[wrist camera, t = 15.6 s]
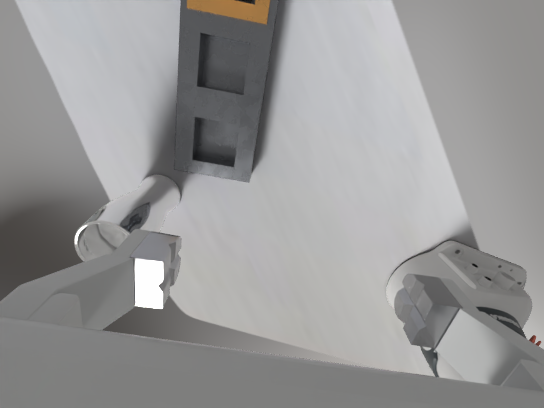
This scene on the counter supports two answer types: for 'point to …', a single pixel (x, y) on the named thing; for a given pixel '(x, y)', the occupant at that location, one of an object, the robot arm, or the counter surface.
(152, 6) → the counter surface
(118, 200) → the beer glass
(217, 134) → the socket rail
